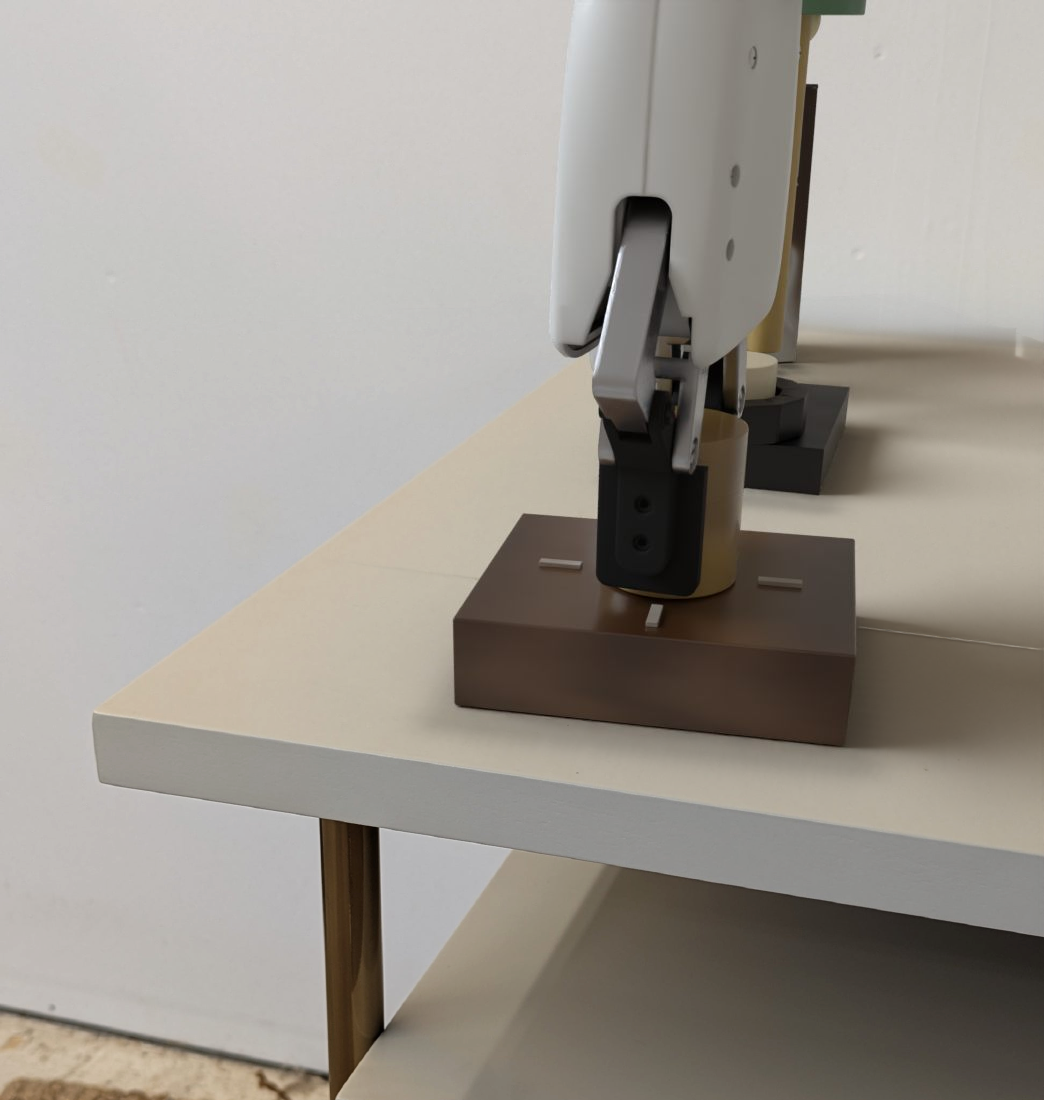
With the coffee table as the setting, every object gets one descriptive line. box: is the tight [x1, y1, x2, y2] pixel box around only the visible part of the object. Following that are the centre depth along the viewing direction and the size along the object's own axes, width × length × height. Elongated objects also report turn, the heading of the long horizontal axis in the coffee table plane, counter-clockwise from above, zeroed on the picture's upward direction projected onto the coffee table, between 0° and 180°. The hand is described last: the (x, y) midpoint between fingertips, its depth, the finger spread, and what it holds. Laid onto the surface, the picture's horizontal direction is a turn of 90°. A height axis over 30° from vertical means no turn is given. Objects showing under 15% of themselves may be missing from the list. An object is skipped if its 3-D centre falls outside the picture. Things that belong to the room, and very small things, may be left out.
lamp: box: [747, 0, 867, 353], centre depth 65 cm, size 6×6×20 cm
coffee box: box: [747, 83, 819, 363], centre depth 82 cm, size 9×6×16 cm
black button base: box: [740, 376, 851, 496], centre depth 65 cm, size 13×9×4 cm
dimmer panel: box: [452, 512, 857, 747], centre depth 44 cm, size 12×10×3 cm
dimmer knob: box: [617, 406, 749, 599], centre depth 42 cm, size 4×4×5 cm
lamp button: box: [745, 351, 779, 400], centre depth 62 cm, size 4×4×2 cm
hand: (669, 553), depth 43 cm, fingers closed on dimmer knob, 4 cm apart
